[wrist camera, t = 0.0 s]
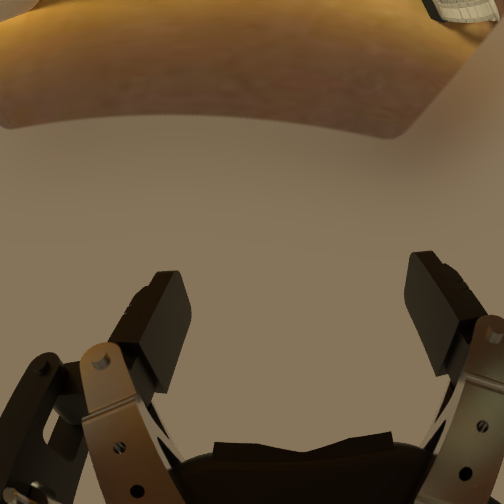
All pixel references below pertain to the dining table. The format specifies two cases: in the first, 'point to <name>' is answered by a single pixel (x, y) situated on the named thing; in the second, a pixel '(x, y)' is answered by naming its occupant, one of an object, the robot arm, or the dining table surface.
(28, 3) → the alcohol
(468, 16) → the watch
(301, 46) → the dining table surface
